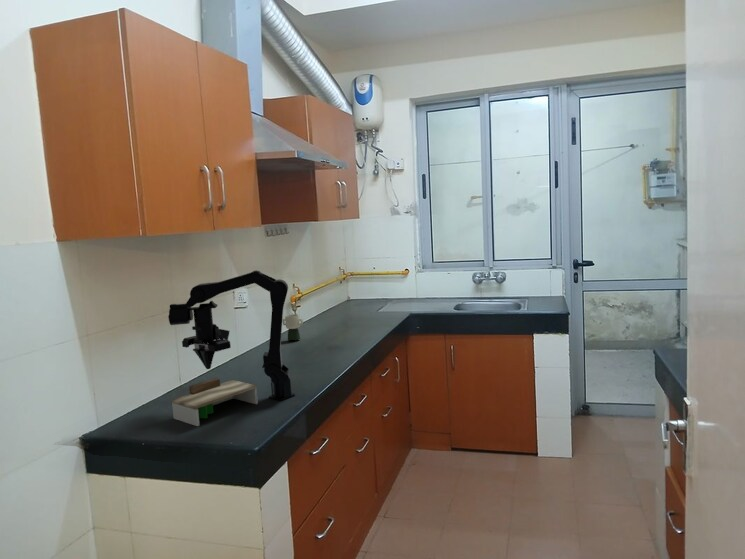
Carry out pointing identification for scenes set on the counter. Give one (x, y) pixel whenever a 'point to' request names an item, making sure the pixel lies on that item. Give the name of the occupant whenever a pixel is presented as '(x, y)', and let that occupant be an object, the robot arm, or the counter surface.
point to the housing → (192, 414)
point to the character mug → (293, 326)
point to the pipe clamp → (205, 410)
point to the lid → (212, 392)
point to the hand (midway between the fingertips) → (208, 368)
